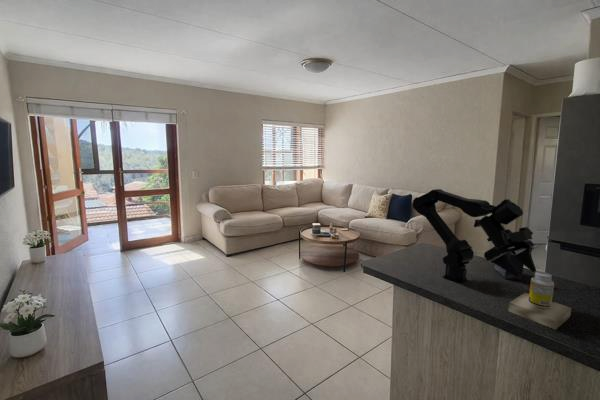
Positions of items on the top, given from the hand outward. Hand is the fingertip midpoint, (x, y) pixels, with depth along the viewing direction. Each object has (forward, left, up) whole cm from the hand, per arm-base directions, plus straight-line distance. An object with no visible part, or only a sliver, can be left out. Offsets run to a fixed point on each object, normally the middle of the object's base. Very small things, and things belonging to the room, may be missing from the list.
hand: (526, 273), depth 95 cm
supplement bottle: (+4, -1, -9) cm, 10 cm away
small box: (-14, +25, -12) cm, 31 cm away
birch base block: (+5, -1, -11) cm, 12 cm away
